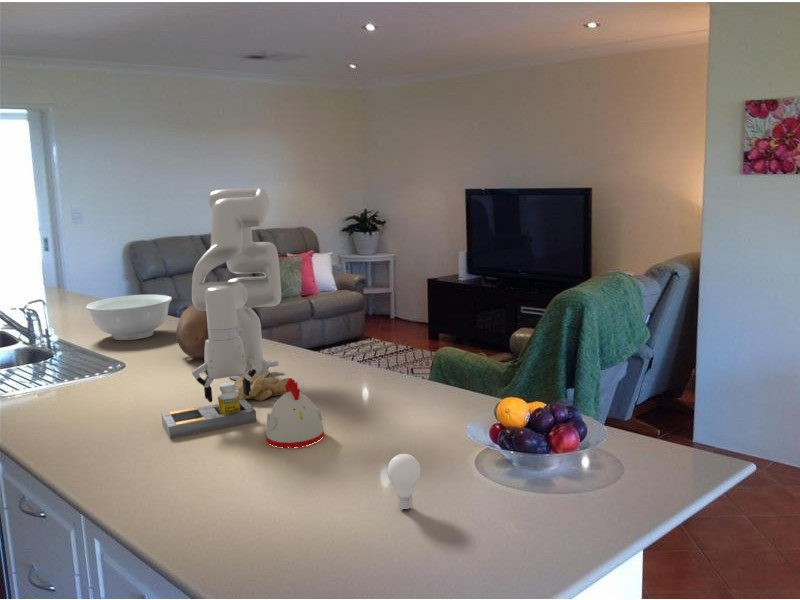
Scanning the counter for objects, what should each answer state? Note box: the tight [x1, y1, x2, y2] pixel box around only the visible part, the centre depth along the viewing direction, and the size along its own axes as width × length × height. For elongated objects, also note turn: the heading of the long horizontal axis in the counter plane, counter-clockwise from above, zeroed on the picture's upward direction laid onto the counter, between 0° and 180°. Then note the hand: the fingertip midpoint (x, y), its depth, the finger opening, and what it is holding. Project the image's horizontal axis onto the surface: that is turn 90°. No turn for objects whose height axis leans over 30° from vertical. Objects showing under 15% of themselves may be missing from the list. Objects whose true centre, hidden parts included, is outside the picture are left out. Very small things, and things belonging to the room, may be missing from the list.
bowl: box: [85, 294, 173, 341], centre depth 294 cm, size 32×32×15 cm
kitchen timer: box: [265, 377, 325, 448], centre depth 176 cm, size 14×14×15 cm
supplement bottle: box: [217, 382, 240, 415], centre depth 192 cm, size 5×5×10 cm
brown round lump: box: [175, 304, 209, 359], centre depth 260 cm, size 20×20×30 cm
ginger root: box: [233, 371, 290, 402], centre depth 210 cm, size 16×16×8 cm
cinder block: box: [160, 399, 257, 439], centre depth 190 cm, size 22×11×3 cm, turn 117°
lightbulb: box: [386, 453, 422, 510], centre depth 138 cm, size 6×6×11 cm
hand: (228, 397), depth 191 cm, fingers open, 9 cm apart
